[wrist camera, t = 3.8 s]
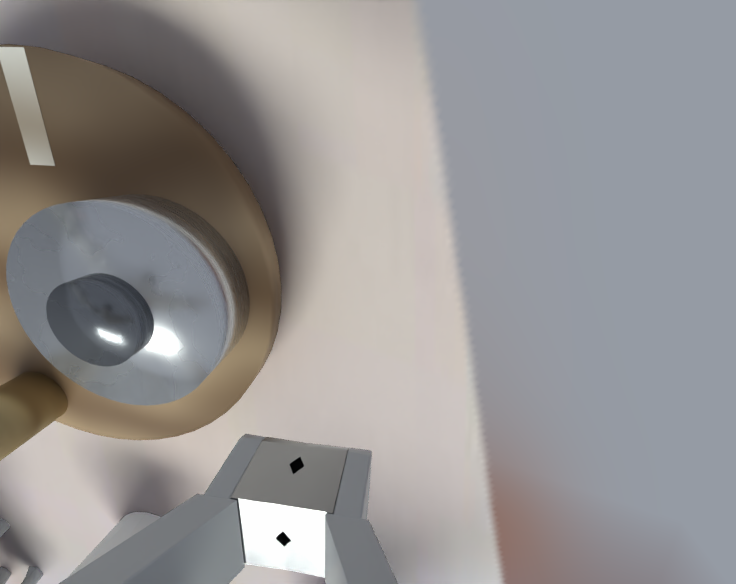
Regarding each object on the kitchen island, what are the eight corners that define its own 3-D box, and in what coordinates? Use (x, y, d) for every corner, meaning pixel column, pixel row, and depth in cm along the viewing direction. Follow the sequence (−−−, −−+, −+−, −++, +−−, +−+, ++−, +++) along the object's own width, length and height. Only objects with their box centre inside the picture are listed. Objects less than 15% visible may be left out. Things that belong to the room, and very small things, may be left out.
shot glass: (122, 493, 28) (34, 595, 21) (200, 530, 28) (138, 640, 22) (105, 540, 30) (22, 644, 24) (177, 573, 31) (115, 683, 24)
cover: (50, 188, 16) (-61, 197, 12) (241, 199, 15) (185, 213, 11) (97, 359, 19) (21, 408, 15) (256, 376, 18) (217, 432, 15)
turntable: (-148, 51, 16) (-414, 0, 11) (269, 60, 14) (190, 4, 9) (-2, 403, 23) (-120, 473, 18) (288, 438, 22) (250, 526, 16)
